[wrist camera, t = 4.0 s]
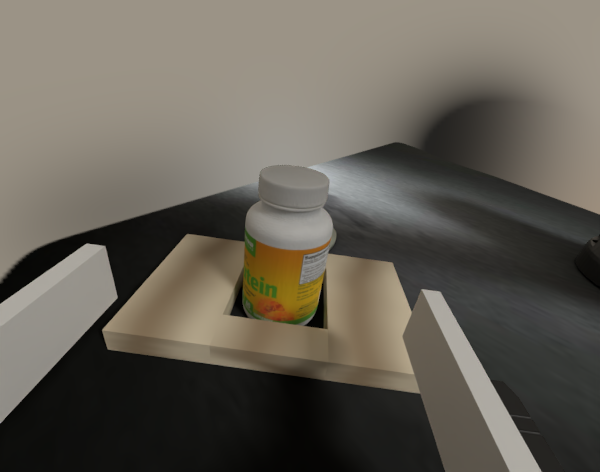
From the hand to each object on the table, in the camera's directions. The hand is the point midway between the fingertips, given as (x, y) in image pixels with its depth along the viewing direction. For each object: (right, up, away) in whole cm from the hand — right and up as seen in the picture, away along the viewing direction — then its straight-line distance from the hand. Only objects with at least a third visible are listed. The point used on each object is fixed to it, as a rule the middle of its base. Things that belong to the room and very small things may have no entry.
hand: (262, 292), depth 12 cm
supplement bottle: (0, -3, +9) cm, 9 cm away
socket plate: (0, -3, +9) cm, 9 cm away
